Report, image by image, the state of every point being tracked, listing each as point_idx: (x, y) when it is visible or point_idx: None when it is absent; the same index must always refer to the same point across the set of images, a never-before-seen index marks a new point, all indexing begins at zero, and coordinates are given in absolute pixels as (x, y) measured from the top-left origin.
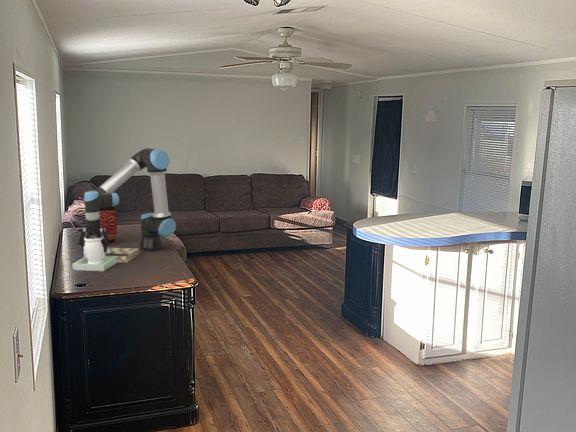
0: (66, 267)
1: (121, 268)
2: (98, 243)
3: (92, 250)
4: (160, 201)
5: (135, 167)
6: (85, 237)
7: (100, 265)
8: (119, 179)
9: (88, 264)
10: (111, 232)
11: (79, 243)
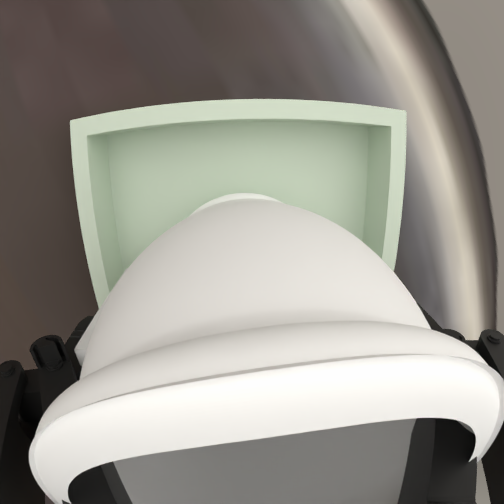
0: (443, 183)
1: (23, 232)
2: (84, 363)
3: (209, 215)
4: None
5: None
6: (475, 461)
7: (99, 115)
8: None
9: (234, 101)
10: None
11: (497, 342)
